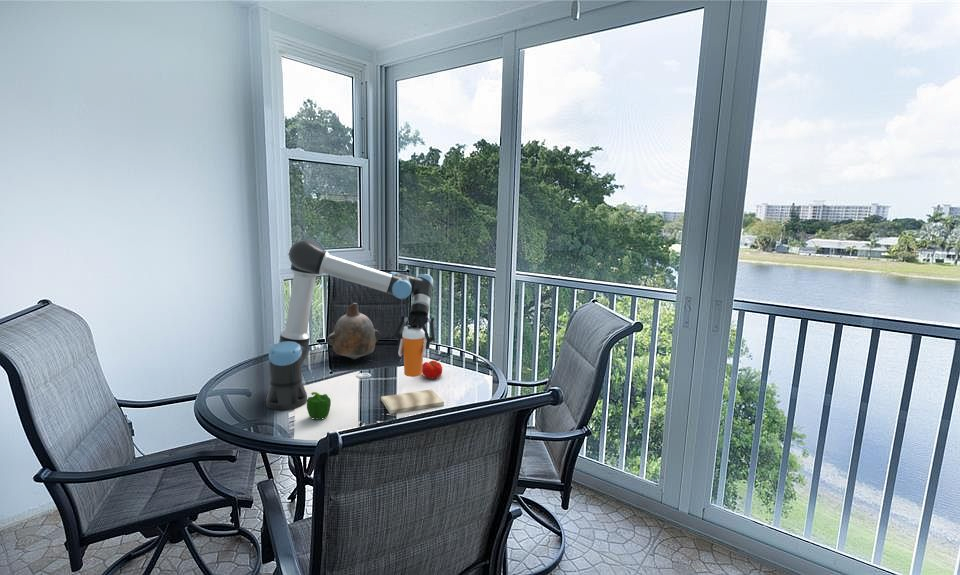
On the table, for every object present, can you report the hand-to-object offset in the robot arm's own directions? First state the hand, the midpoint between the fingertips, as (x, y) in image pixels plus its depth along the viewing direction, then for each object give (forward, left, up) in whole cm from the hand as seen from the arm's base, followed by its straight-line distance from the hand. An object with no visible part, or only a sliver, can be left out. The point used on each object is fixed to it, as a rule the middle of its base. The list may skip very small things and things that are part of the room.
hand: (411, 355), depth 183 cm
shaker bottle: (+2, +3, -9) cm, 10 cm away
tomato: (+19, +29, -21) cm, 41 cm away
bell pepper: (-35, +3, -21) cm, 41 cm away
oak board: (+1, +3, -21) cm, 21 cm away
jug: (-10, +66, -21) cm, 70 cm away
